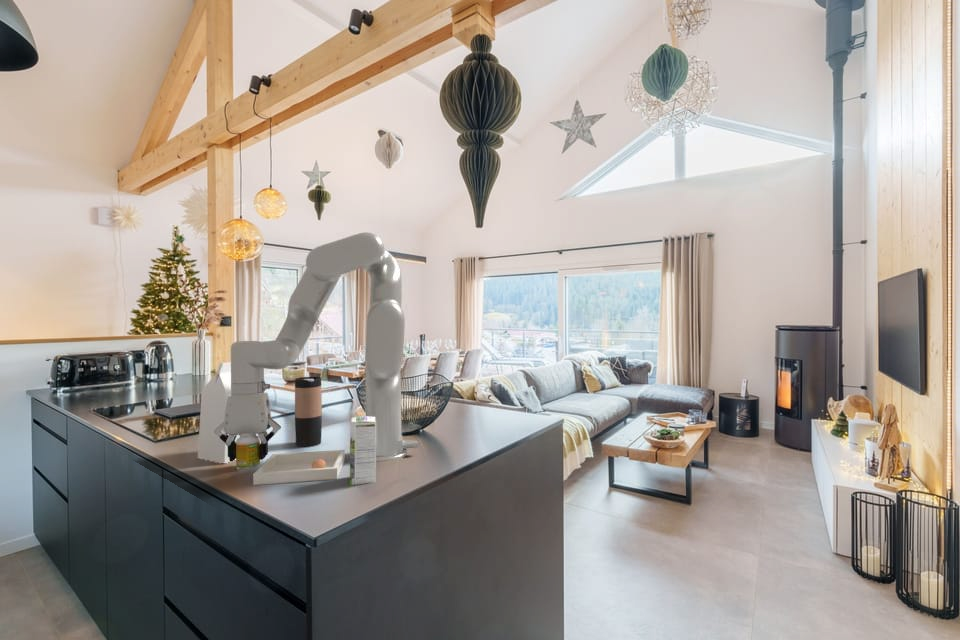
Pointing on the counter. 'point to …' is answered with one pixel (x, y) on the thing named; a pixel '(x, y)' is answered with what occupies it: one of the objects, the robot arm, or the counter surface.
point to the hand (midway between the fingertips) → (248, 458)
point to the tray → (299, 467)
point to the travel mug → (308, 411)
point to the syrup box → (363, 450)
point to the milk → (215, 415)
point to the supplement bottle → (247, 451)
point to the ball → (318, 464)
